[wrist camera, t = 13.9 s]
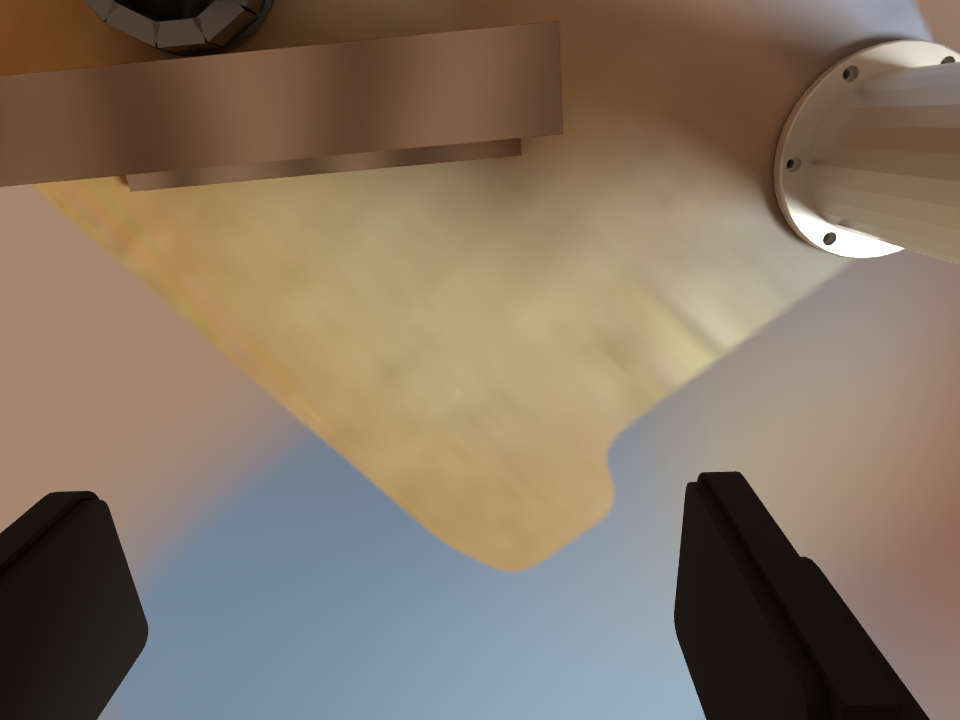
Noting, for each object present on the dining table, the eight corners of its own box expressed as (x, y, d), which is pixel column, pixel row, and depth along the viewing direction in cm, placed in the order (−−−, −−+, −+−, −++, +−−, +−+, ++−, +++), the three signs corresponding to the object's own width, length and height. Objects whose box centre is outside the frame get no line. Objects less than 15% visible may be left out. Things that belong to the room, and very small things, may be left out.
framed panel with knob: (513, 46, 35) (556, -42, 16) (519, 154, 37) (564, 185, 19) (110, 85, 36) (-289, 44, 17) (140, 189, 38) (-184, 254, 19)
